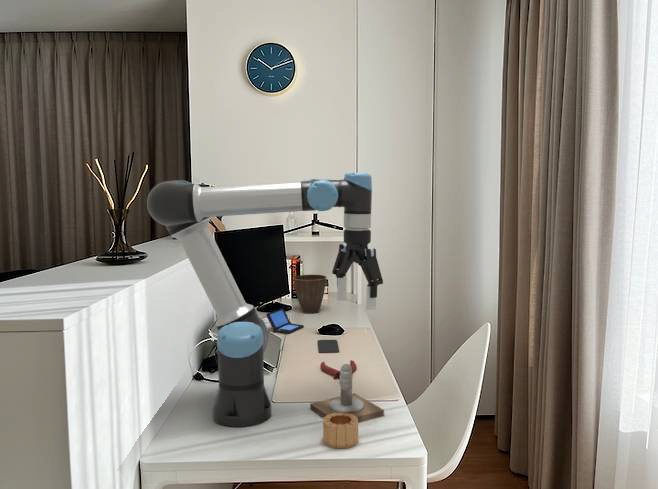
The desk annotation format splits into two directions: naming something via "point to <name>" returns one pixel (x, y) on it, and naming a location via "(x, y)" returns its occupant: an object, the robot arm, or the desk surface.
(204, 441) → the desk surface
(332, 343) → the phone
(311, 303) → the plant pot
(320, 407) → the bobbin stand
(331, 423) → the light wood ring
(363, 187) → the robot arm
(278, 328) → the handheld game console
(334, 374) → the pliers
